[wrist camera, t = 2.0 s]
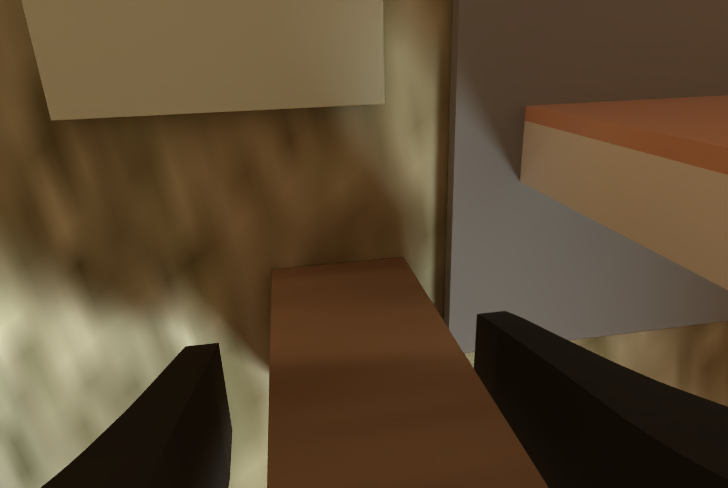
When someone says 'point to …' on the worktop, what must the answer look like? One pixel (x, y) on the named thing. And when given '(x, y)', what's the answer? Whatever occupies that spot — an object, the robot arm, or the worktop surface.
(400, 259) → the block
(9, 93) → the worktop surface
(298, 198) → the worktop surface
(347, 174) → the worktop surface
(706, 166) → the tile
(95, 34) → the board
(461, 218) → the mat
